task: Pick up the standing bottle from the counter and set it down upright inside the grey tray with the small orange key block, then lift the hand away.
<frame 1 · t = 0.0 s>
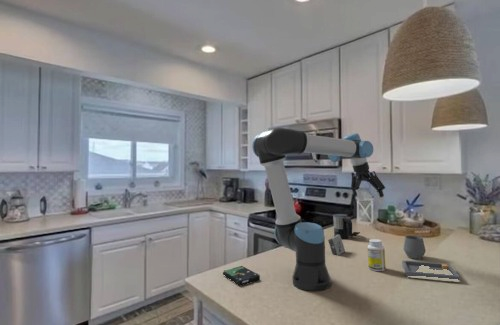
hand: (371, 201, 145), 28 cm above the countertop, tool tilted 20°, fingers open, 13 cm apart
disk drive: (241, 279, 122), on the countertop
grey tray: (428, 273, 118), on the countertop
electrical switch: (337, 253, 151), on the countertop
cup: (414, 257, 139), on the countertop
milk frother: (347, 237, 184), on the countertop
supplement bottle: (376, 269, 126), on the countertop
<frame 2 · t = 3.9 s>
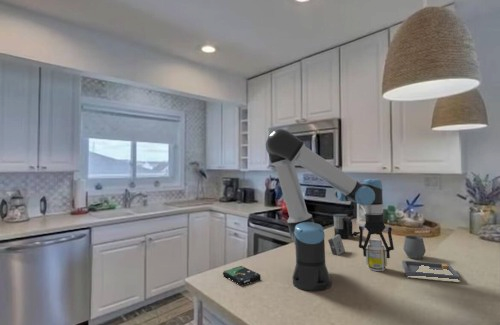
hand: (376, 264, 126), 2 cm above the countertop, tool pointing down, fingers closed on supplement bottle, 7 cm apart
supplement bottle: (376, 269, 126), on the countertop, touching gripper
everything else where it was.
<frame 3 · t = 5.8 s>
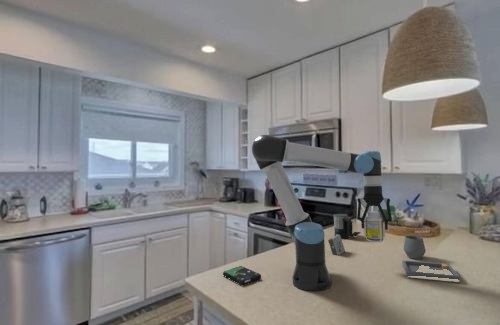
hand: (374, 236, 126), 15 cm above the countertop, tool pointing down, fingers closed on supplement bottle, 7 cm apart
supplement bottle: (374, 241, 126), point 12 cm above the countertop, touching gripper
everything else where it was.
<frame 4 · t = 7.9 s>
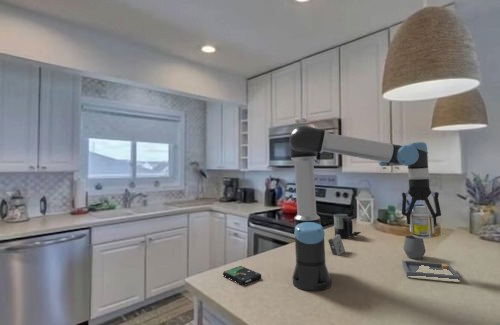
hand: (421, 232, 119), 17 cm above the countertop, tool pointing down, fingers closed on supplement bottle, 7 cm apart
supplement bottle: (422, 237, 119), point 15 cm above the countertop, touching gripper
everything else where it was.
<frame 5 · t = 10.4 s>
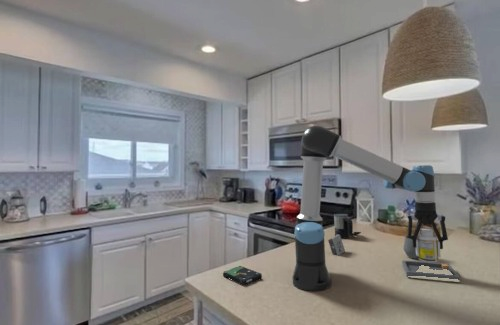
hand: (428, 255, 118), 8 cm above the countertop, tool pointing down, fingers closed on supplement bottle, 7 cm apart
supplement bottle: (428, 261, 118), point 5 cm above the countertop, touching gripper
everything else where it was.
when the fingers open (4 cm above the countertop, at t = 12.4 s): supplement bottle stays where it is, resting on grey tray.
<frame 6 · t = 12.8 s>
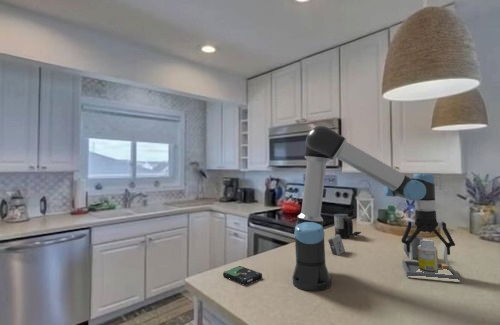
hand: (428, 261, 118), 5 cm above the countertop, tool pointing down, fingers open, 12 cm apart
supplement bottle: (428, 271, 118), point 1 cm above the countertop, touching grey tray
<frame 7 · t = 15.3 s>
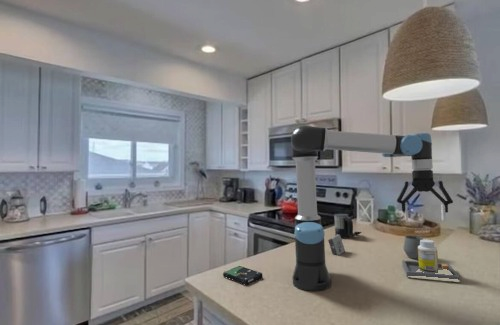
hand: (424, 219, 118), 23 cm above the countertop, tool pointing down, fingers open, 13 cm apart
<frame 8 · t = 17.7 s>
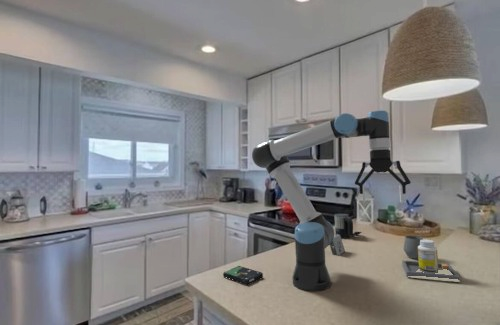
hand: (382, 202, 112), 32 cm above the countertop, tool pointing down, fingers open, 13 cm apart
at the end: supplement bottle inside the target area on the grey tray (0.0 cm from its centre), point 0.8 cm above the grey tray's base; supplement bottle tilted 0°; the gripper is holding nothing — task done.
